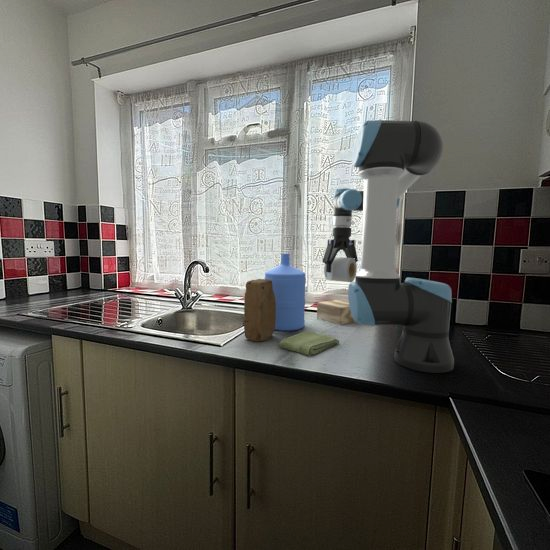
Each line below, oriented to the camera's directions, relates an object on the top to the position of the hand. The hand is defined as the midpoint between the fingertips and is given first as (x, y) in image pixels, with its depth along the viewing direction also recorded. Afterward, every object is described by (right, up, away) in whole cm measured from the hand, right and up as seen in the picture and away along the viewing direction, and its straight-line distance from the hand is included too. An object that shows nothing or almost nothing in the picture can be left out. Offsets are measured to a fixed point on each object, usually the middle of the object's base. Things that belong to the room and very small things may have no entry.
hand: (340, 279), depth 140 cm
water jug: (-24, -18, -11) cm, 32 cm away
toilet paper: (0, -1, 0) cm, 1 cm away
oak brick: (0, -17, +2) cm, 17 cm away
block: (-32, -20, -27) cm, 47 cm away
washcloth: (-16, -21, -34) cm, 43 cm away
